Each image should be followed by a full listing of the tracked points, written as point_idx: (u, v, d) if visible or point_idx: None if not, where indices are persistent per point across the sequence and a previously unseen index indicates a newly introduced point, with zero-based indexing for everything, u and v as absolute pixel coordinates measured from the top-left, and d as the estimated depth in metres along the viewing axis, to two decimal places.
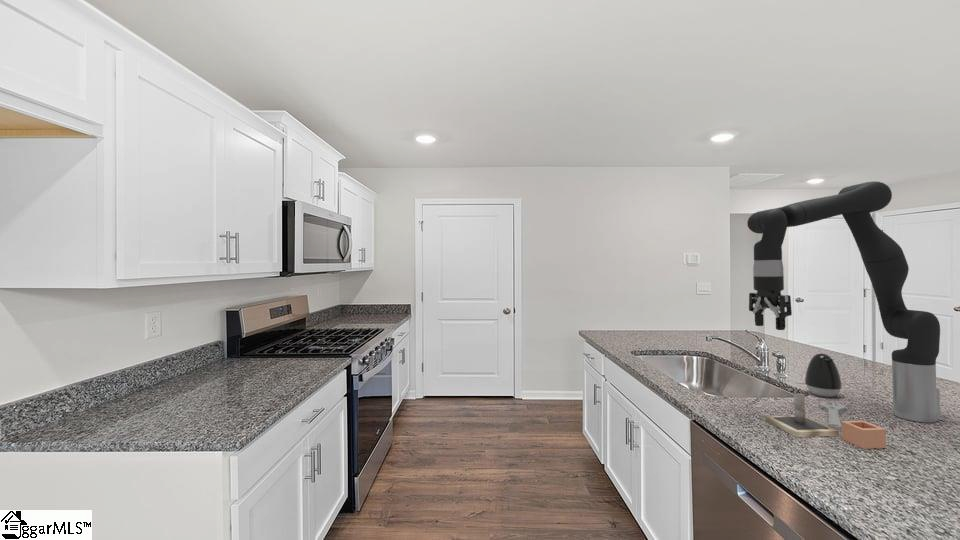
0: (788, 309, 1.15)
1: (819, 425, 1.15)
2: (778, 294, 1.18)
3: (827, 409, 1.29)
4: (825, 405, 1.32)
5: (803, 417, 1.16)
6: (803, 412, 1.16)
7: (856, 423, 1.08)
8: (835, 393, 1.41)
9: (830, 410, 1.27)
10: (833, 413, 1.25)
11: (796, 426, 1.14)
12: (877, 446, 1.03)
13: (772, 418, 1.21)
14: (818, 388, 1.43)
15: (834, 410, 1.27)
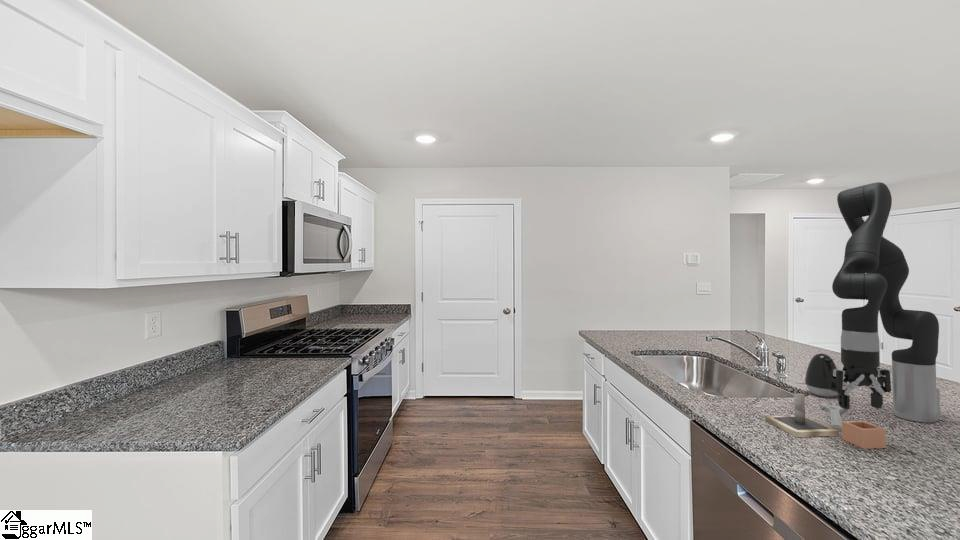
0: (881, 383, 1.07)
1: (819, 425, 1.15)
2: None
3: (828, 409, 1.29)
4: (826, 405, 1.31)
5: (803, 417, 1.16)
6: (803, 412, 1.16)
7: (856, 423, 1.08)
8: (835, 393, 1.41)
9: (831, 411, 1.27)
10: (835, 414, 1.25)
11: (796, 426, 1.14)
12: (877, 446, 1.03)
13: (772, 418, 1.21)
14: (818, 388, 1.43)
15: (835, 410, 1.27)
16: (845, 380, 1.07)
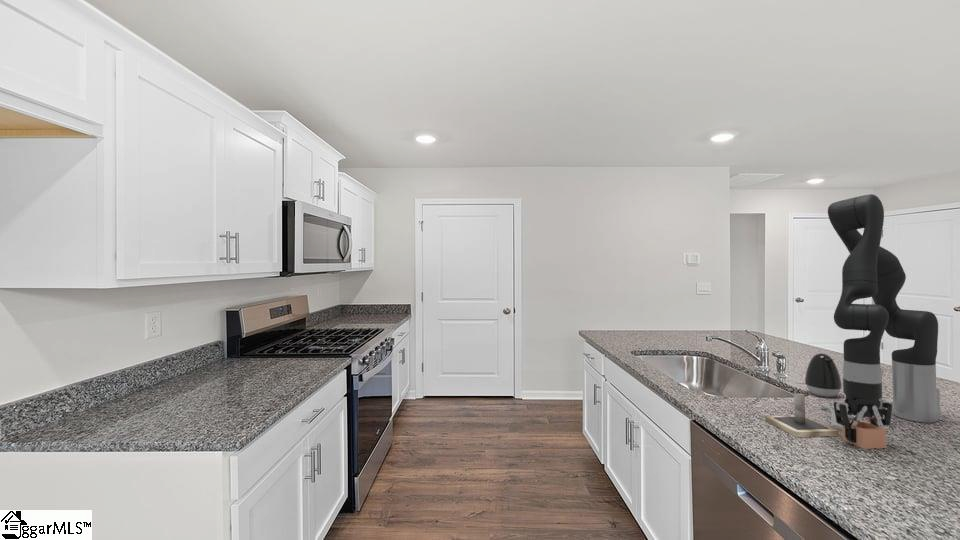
0: (881, 416, 1.07)
1: (819, 425, 1.15)
2: None
3: (829, 410, 1.28)
4: (827, 406, 1.31)
5: (803, 417, 1.16)
6: (803, 412, 1.16)
7: None
8: (835, 393, 1.41)
9: (832, 411, 1.26)
10: None
11: (796, 426, 1.14)
12: (877, 446, 1.03)
13: (772, 418, 1.21)
14: (818, 388, 1.43)
15: None
16: (849, 412, 1.07)
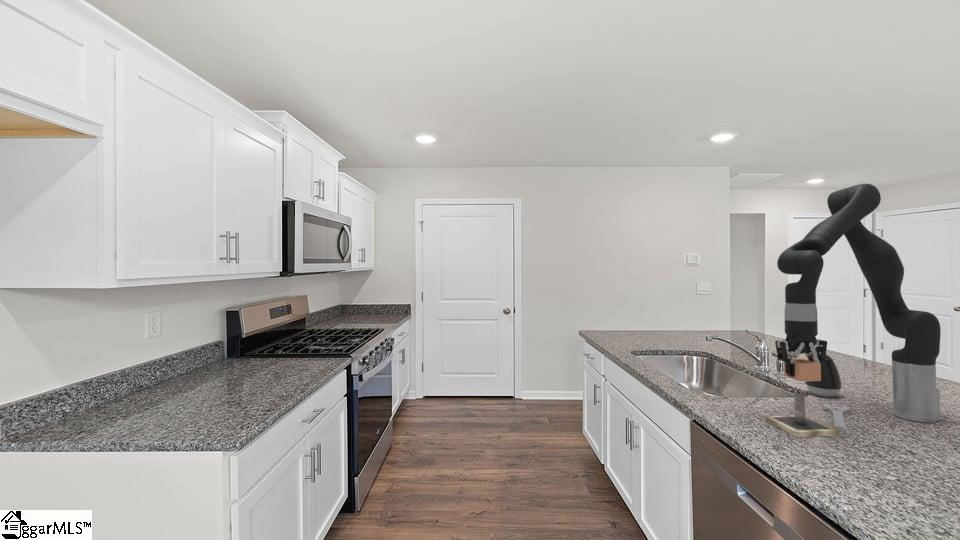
0: (818, 353, 1.17)
1: (819, 425, 1.15)
2: None
3: (831, 411, 1.28)
4: (829, 407, 1.30)
5: (803, 417, 1.16)
6: (803, 412, 1.16)
7: (796, 360, 1.18)
8: (835, 393, 1.41)
9: (834, 412, 1.26)
10: (838, 415, 1.23)
11: (796, 426, 1.14)
12: (813, 379, 1.13)
13: (772, 418, 1.21)
14: (818, 388, 1.43)
15: (838, 412, 1.26)
16: (789, 349, 1.17)
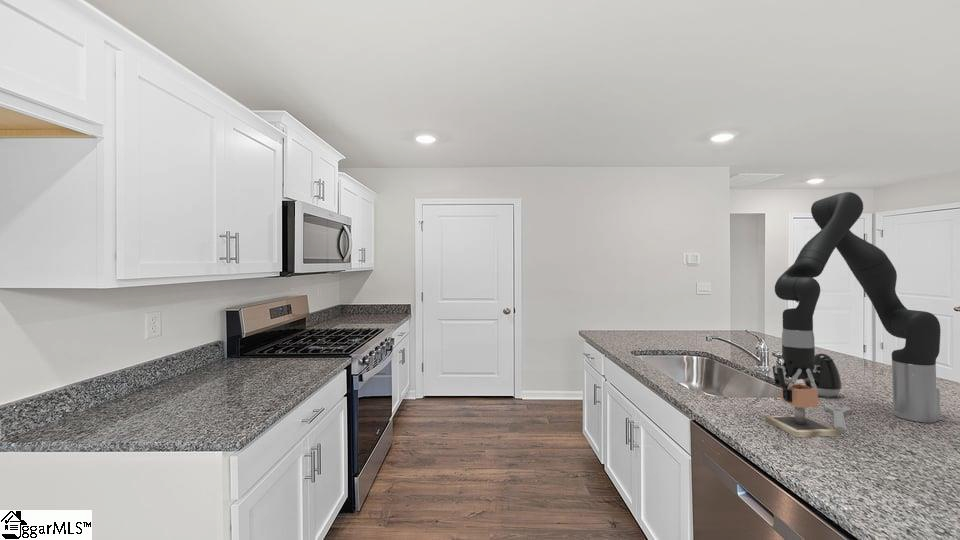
0: (815, 378, 1.18)
1: (819, 425, 1.15)
2: None
3: (832, 411, 1.27)
4: (830, 407, 1.30)
5: (803, 417, 1.16)
6: (803, 412, 1.16)
7: (794, 385, 1.19)
8: (835, 393, 1.41)
9: (835, 412, 1.25)
10: (838, 415, 1.23)
11: (796, 426, 1.14)
12: (810, 405, 1.14)
13: (772, 418, 1.21)
14: (818, 388, 1.43)
15: (839, 412, 1.25)
16: (787, 375, 1.18)
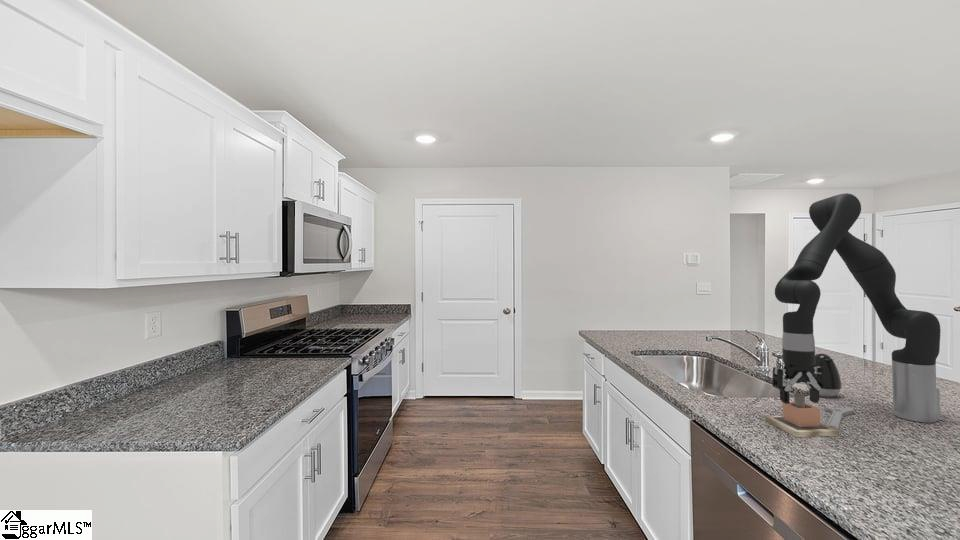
0: (818, 379, 1.18)
1: None
2: None
3: (832, 411, 1.27)
4: (831, 407, 1.29)
5: None
6: None
7: None
8: (835, 393, 1.41)
9: (834, 412, 1.25)
10: (836, 415, 1.23)
11: (796, 426, 1.14)
12: (812, 424, 1.14)
13: (772, 418, 1.21)
14: None
15: (839, 413, 1.25)
16: (786, 377, 1.18)
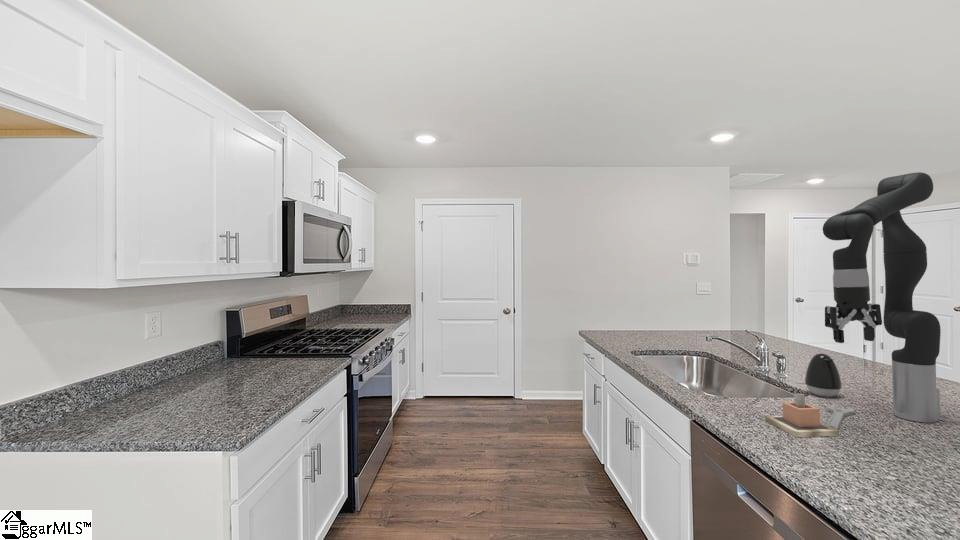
0: (872, 317, 1.14)
1: None
2: None
3: (833, 412, 1.27)
4: (833, 408, 1.29)
5: None
6: None
7: None
8: (835, 393, 1.41)
9: (835, 413, 1.25)
10: (837, 416, 1.23)
11: (796, 426, 1.14)
12: (812, 424, 1.14)
13: (772, 418, 1.21)
14: (818, 388, 1.43)
15: (840, 413, 1.25)
16: (839, 316, 1.14)
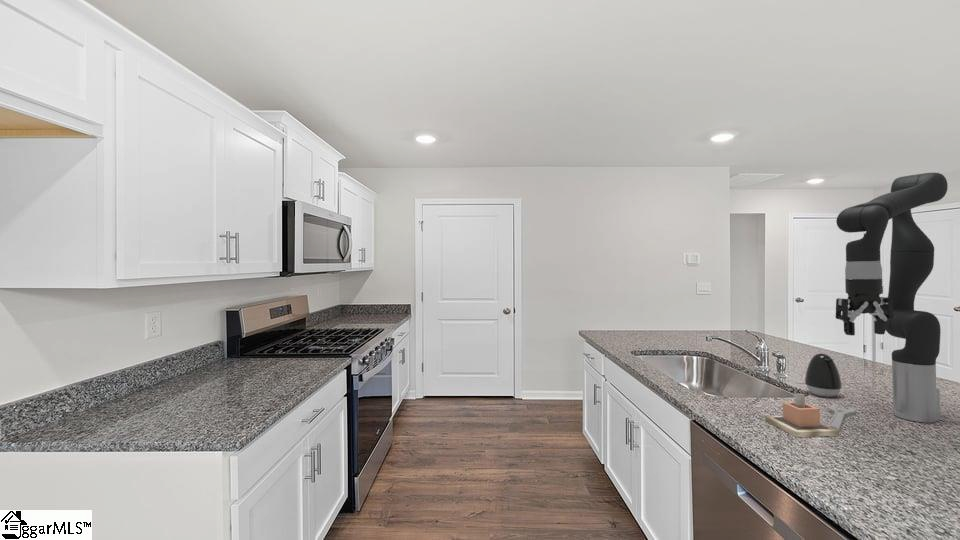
0: (884, 311, 1.13)
1: None
2: None
3: (834, 412, 1.26)
4: (833, 408, 1.28)
5: None
6: None
7: None
8: (835, 393, 1.41)
9: (836, 413, 1.25)
10: (838, 416, 1.22)
11: (796, 426, 1.14)
12: (812, 424, 1.14)
13: (772, 418, 1.21)
14: (818, 388, 1.43)
15: (841, 413, 1.24)
16: (850, 309, 1.13)
